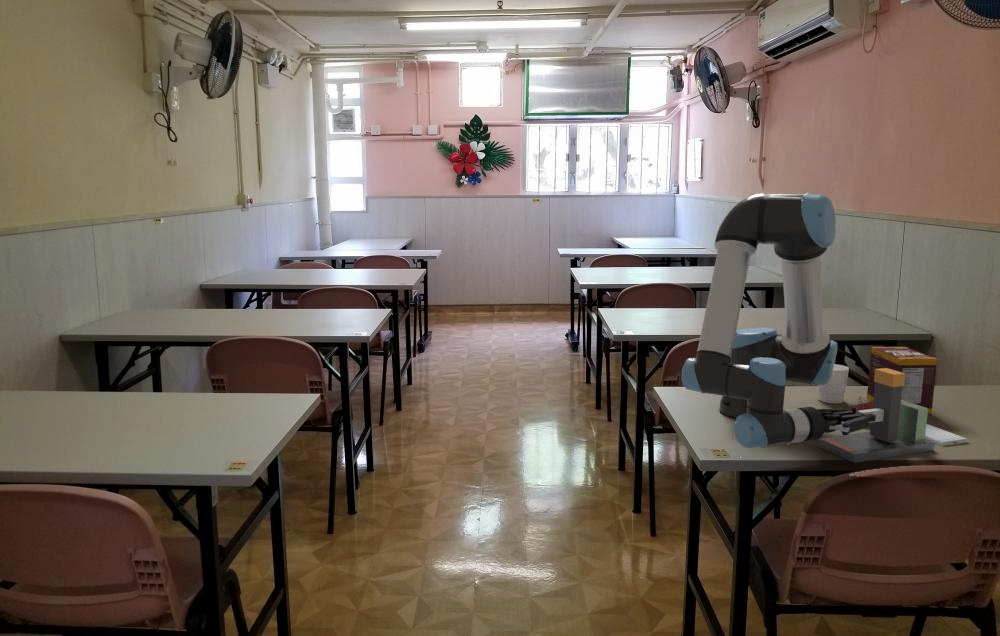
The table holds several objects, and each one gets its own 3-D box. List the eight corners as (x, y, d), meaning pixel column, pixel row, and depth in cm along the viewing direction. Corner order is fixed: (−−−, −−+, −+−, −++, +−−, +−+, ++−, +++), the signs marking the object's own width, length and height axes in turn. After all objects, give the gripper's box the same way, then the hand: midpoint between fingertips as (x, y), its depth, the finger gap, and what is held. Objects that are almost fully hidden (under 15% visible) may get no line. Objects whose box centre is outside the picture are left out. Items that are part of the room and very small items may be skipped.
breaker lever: (887, 442, 174) (894, 374, 171) (868, 435, 179) (875, 369, 176) (898, 440, 175) (905, 373, 172) (879, 433, 180) (886, 367, 177)
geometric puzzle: (842, 415, 195) (864, 394, 191) (842, 408, 201) (864, 387, 198) (864, 434, 193) (887, 413, 190) (864, 426, 199) (886, 406, 196)
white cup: (810, 397, 219) (813, 363, 217) (836, 396, 220) (839, 363, 218) (825, 404, 211) (828, 370, 209) (851, 404, 212) (854, 370, 210)
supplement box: (900, 398, 218) (905, 346, 215) (932, 414, 203) (938, 358, 200) (865, 398, 218) (870, 346, 215) (894, 414, 202) (900, 358, 200)
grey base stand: (853, 462, 167) (857, 420, 166) (818, 446, 178) (821, 406, 176) (933, 450, 175) (938, 409, 174) (895, 435, 186) (899, 396, 184)
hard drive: (900, 425, 190) (942, 441, 178) (925, 422, 192) (968, 437, 181) (899, 432, 190) (941, 448, 179) (924, 428, 193) (967, 444, 181)
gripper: (778, 431, 174) (858, 421, 182) (819, 450, 162) (902, 438, 169) (780, 400, 172) (860, 391, 180) (822, 417, 160) (905, 407, 168)
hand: (881, 414), depth 175 cm, fingers closed
